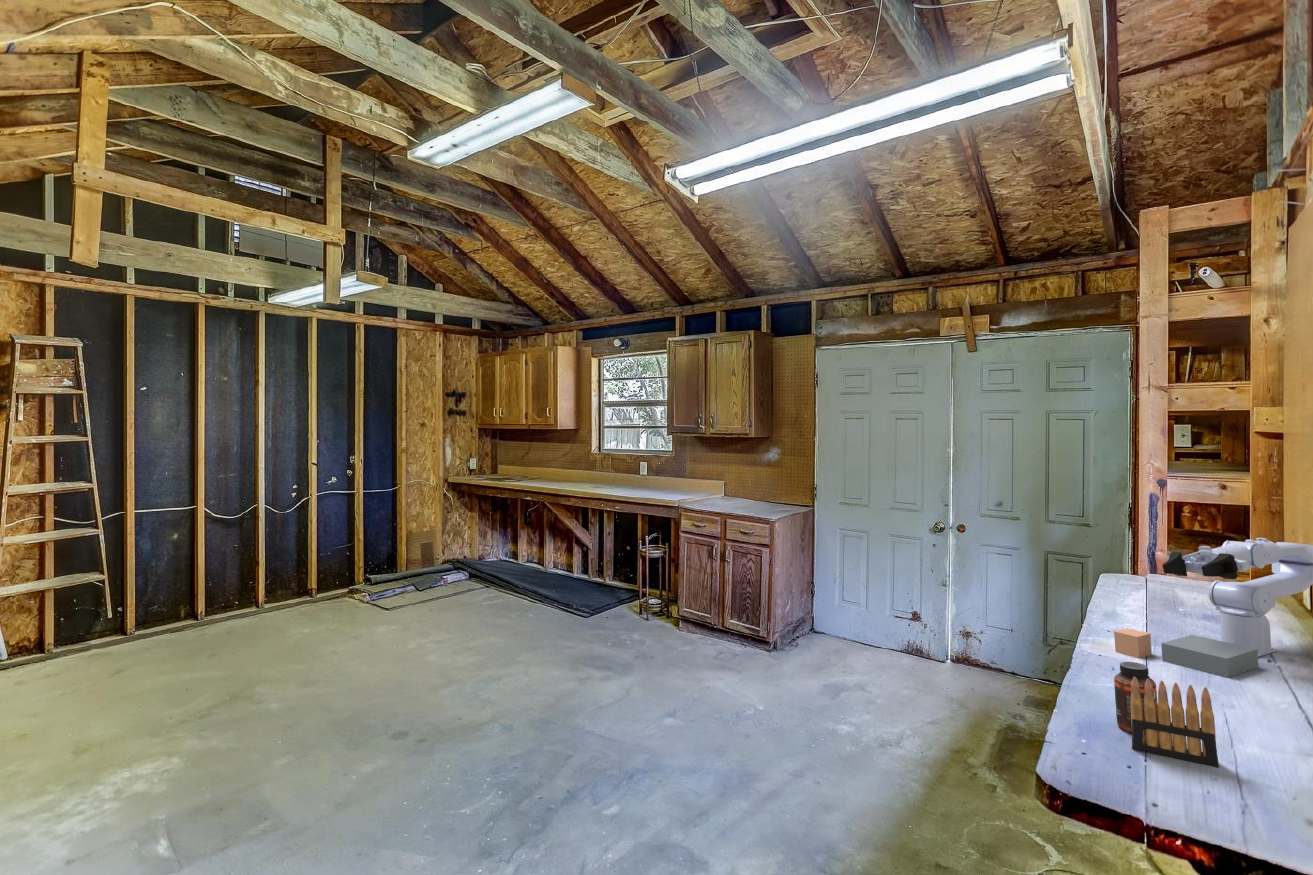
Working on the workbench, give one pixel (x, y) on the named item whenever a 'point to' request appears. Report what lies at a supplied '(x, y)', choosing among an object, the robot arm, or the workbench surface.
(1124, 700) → the supplement bottle
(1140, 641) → the terracotta cube
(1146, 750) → the ammunition clip
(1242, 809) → the workbench surface
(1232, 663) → the slate plinth
